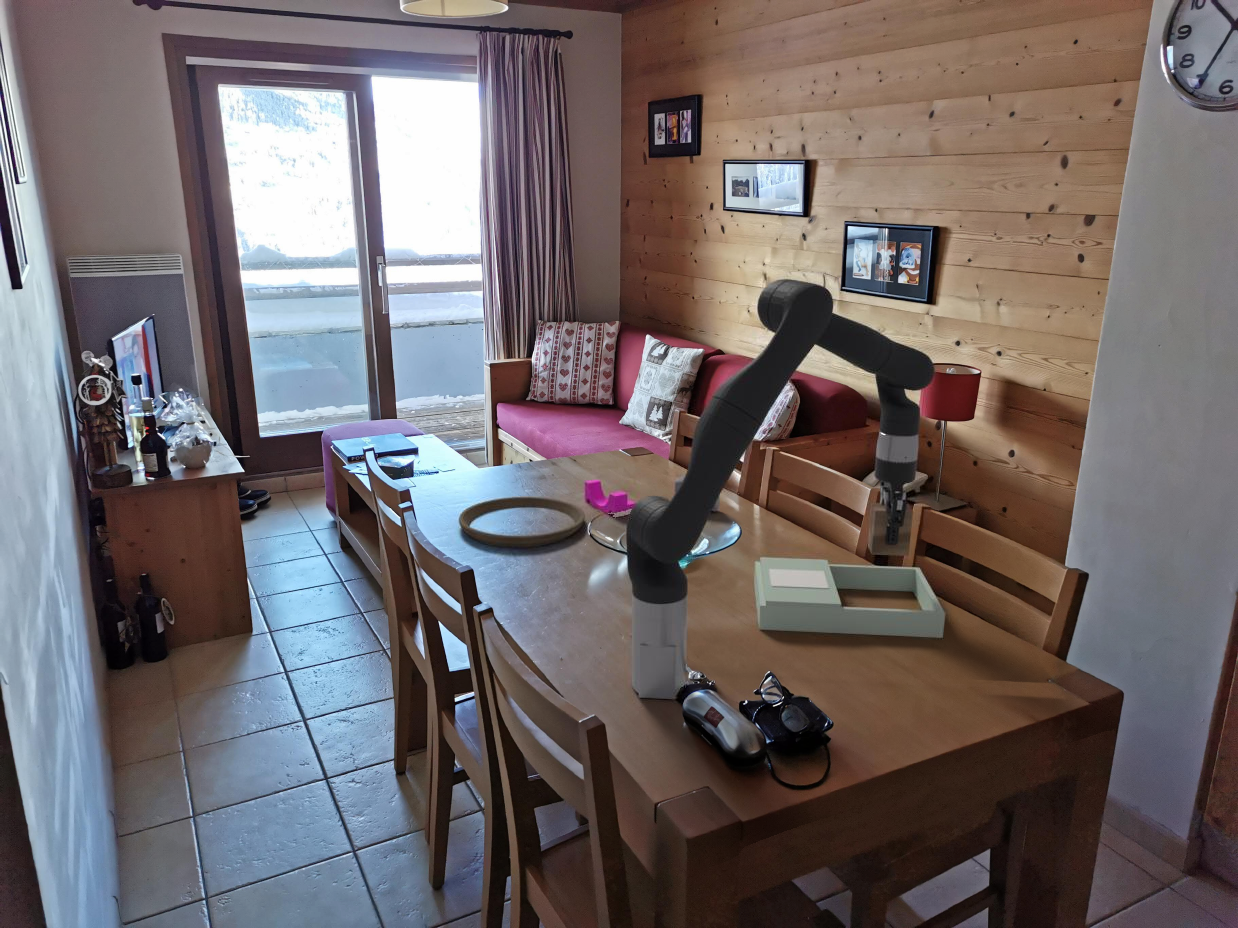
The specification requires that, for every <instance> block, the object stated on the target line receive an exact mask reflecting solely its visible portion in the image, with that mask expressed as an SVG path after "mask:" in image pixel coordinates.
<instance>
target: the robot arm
mask: <svg viewBox="0 0 1238 928" xmlns="http://www.w3.org/2000/svg"><path fill="white" fill-rule="evenodd" d="M756 308H757V311H756V312H757V315H758V319H759V321H760V323H761V324H762V325H763V327H765V328H766V329H767V330H768V331H770V332H772V333H773V334H774V335H773V336H772V338H771V339H770V341H769V342H768V344H767V345H766V346H765V348H763V350H762V351H761V353H760V354H759V355H757V356H756V357H755V358H754V359H753V360H752V361H750V362H749V363H748V364H746V365H745V366H743V367H742V368H741V369H739V370H738V371H736V372H735V373H734V374H733V375H731V376H730V377H728V379H726V380H725V381H724V382H723V383H721V385H720V386H719V387H717V389H716V391H714V393H713V395H712V397H711V398H710V400H709V402H708V403H707V404H706V407H705V409H704V410H703V411H702V413H701V415H700V416H699V418H698V420H697V422H696V425H695V428H694V433H693V437H692V441H691V442H692V443H691V450H690V456H689V463H688V468H687V470H686V473H685V475H684V476H685V477H684V479H683V481H682V483H681V485H680V486H679V488H678V490H677V491H676V493H675V492H674V495H673V496H672V498H671V500H669V499H667V498H664V497H662V496H658V495H649V496H648V495H647V496H646V497H643V498H640V499H639V500H638V501H637V502H635V503H636V504H635V505H634V507H633V508H632V510H631V512H630V514H629V515H628V517H627V521H626V531H625V534H626V535H625V538H626V539H625V540H626V541H625V542H626V561H627V562H626V563H627V565H626V566H627V573H628V576H629V579H630V582H631V588H632V589H631V592H632V593H631V595H632V596H631V598H632V600H631V603H632V604H631V610H632V611H631V686H632V689H633V690H634V691H635V692H636V693H638V698H642V699H643V698H645V699H662V700H663V699H664V700H665V699H666V700H676V699H677V696H678V695H677V693H678V692H679V690H680V688H681V687H683V686H684V685H685V686H686V677H687V676H686V675H687V673H686V672H687V669H686V668H687V633H688V632H687V627H688V591H689V590H688V587H689V585H688V577H687V575H686V573H685V572H684V570H683V568H682V567H681V564H680V563H679V562H680V561H682V560H683V559H684V558H686V557H687V556H688V554H690V553H691V551H692V550H693V549H694V547H695V546H696V544H697V542H698V541H699V538H700V537H701V535H702V533H703V530H704V528H705V527H706V524H707V522H708V519H709V517H710V516H711V514H712V512H711V511H712V509H713V507H714V505H715V503H716V501H717V499H718V497H719V498H720V495H721V493H722V492H723V490H724V488H725V486H726V484H727V482H728V481H729V480H730V477H731V476H732V473H734V471H735V469H736V467H737V465H738V464H739V463H740V460H741V459H742V457H743V455H744V454H745V452H746V450H748V448H749V446H750V445H751V443H752V442H753V440H754V439H755V437H756V435H757V433H759V430H760V428H761V427H762V426H763V423H764V421H765V420H766V418H767V416H768V414H769V412H770V410H771V409H772V407H773V406H774V404H775V402H776V401H777V400H778V398H779V396H780V395H781V393H782V392H783V390H784V389H785V387H786V386H787V384H788V383H789V380H790V379H791V378H792V376H793V375H794V373H795V372H796V370H797V369H798V368H799V366H800V365H801V364H802V362H803V361H804V360H805V358H806V357H807V356H808V354H809V353H810V352H811V351H812V349H813V348H814V347H815V346H817V347H820V348H821V349H824V350H825V351H827V352H829V353H831V354H833V355H835V356H837V357H838V358H840V359H842V360H843V361H846V362H847V363H849V364H851V365H853V366H855V367H856V368H859V369H860V370H863V371H864V372H867V373H869V374H873V375H874V376H875V383H876V388H877V394H878V400H879V404H880V411H881V412H880V419H879V420H880V422H879V423H880V424H879V432H878V433H879V434H878V437H877V441H876V452H875V463H874V464H875V465H874V477H875V479H876V480H878V481H880V482H879V485H880V489H879V490H880V491H879V493H880V494H879V503H881V504H885V506H884V510H885V513H886V514H887V522H886V525H887V530H886V540H885V542H886V544H887V545H897V544H898V535H899V527H903V525H904V517H905V512H906V506H907V504H908V500H907V499H906V497H907V492H906V490H904V485H906V484H910V483H913V482H914V481H915V480H916V473H917V465H918V453H919V433H920V432H919V429H920V418H921V408H920V405H919V404H918V403H916V402H915V401H913V400H911V399H910V398H909V397H908V396H907V394H906V391H905V390H907V391H912V392H914V391H915V392H916V391H921V390H923V389H926V388H927V387H928V386H929V385H930V384H931V383H932V382H933V379H934V376H935V370H936V369H935V365H934V362H933V361H932V359H931V358H930V357H929V355H927V354H926V353H924V352H923V351H921V350H918V349H916V348H913V347H911V346H908V345H905V344H902V343H899V342H896V341H895V340H892V339H890V338H889V337H888V336H886V335H885V334H882V333H881V332H879V331H878V330H876V329H874V328H872V327H869V326H868V325H865V324H864V323H861V322H858V321H855V320H853V319H850V318H847V317H844V316H842V315H840V314H837V313H834V299H833V295H832V293H831V292H830V291H829V290H828V288H826V287H825V286H822V285H820V284H818V283H812V282H808V281H803V280H796V279H788V278H783V279H776V280H774V281H771V282H770V283H768V284H767V285H766V286H764V289H763V290H762V291H761V293H760V295H759V297H758V300H757V307H756ZM889 508H891V510H889ZM894 517H898V518H897V520H893V519H894ZM676 695H677V696H676Z"/></svg>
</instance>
